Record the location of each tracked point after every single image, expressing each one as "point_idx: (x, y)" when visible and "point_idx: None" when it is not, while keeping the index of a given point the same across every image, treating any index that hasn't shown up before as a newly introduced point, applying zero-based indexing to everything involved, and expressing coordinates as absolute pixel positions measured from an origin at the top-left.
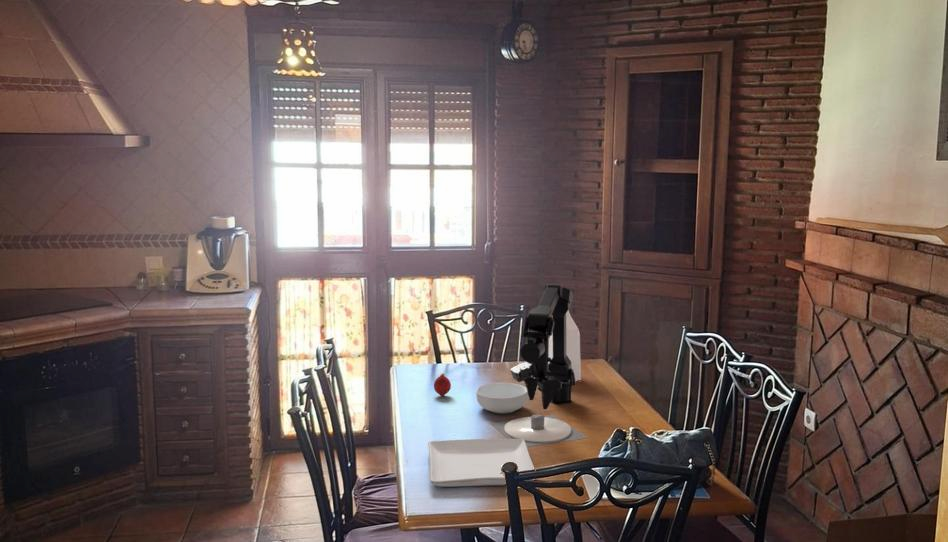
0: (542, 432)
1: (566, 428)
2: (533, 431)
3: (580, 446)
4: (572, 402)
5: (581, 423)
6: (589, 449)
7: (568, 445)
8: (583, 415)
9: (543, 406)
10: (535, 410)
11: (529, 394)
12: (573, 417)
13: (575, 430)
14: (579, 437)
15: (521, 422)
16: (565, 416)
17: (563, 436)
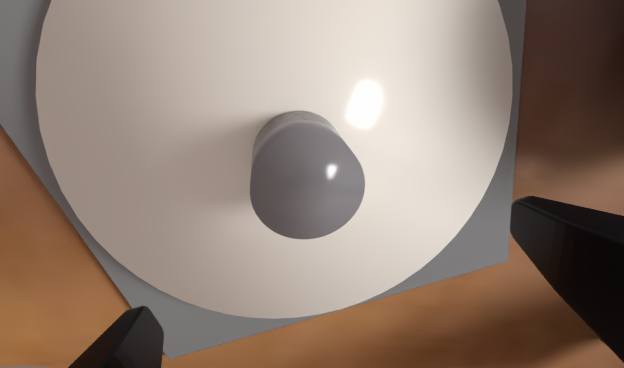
0: (206, 171)
1: (269, 300)
2: (227, 114)
3: (58, 320)
4: (602, 340)
5: (374, 346)
6: (20, 349)
7: (62, 273)
8: (460, 357)
9: (100, 339)
10: (613, 190)
11: (584, 235)
12: (452, 326)
13: (272, 324)
14: (171, 331)
15: (425, 61)
16: (476, 301)
17: (136, 275)
